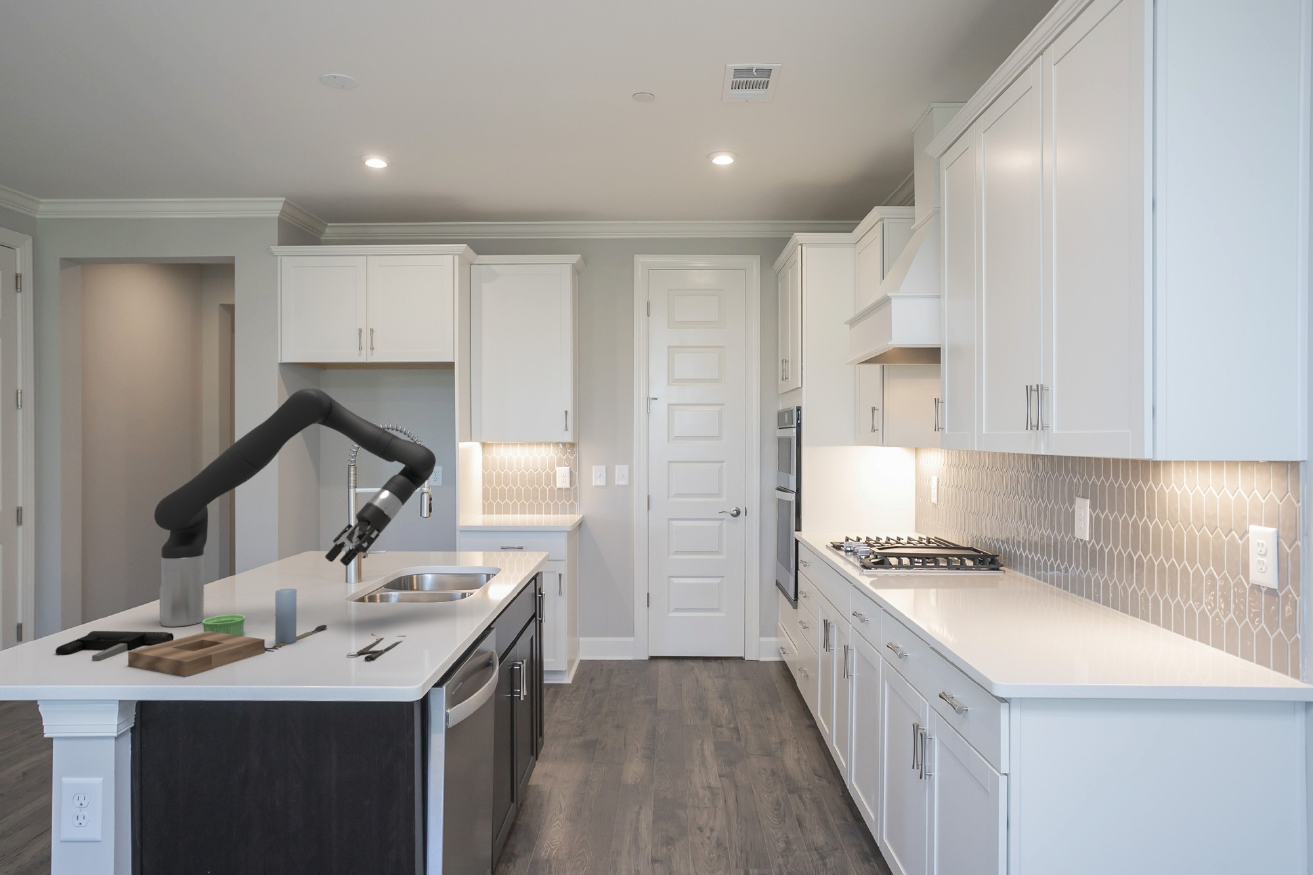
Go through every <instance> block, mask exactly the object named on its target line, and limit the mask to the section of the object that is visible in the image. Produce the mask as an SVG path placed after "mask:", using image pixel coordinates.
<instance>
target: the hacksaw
mask: <svg viewBox="0 0 1313 875" xmlns="http://www.w3.org/2000/svg"><path fill="white" fill-rule="evenodd" d="M371 636H374V637H376V635H375V634H374V633H371ZM377 637H378V638H376V639H375V641H373V642H372V643H371V644H369V645H367V646H365V647H364V648H361V649H360V650H358V651H357V652H356V654H353V653H355V652H354V651H353V652H352V654H351V652H349V653H347V654H346V656H348V657H356V656H361V655H366V654H367V655H366V656H365V657H364V661H365V662H373V661H375V660H376V659H378V658H380V656H382V655H384V654H385V653H386V652H388V651H389V650H390V649H392V648H394V647H396V646H397V645H399V644H400V643H402V642H403V640H400V641H396V642H394V643H392V644H390V645H389V646H387V647H385V648H384V649H380V650H379V649H377V650H371V649H372V648H374V647H375V646H377V645H379V643H381V642H382V641H383V640H384V639H385V638H384V637H379V636H377ZM396 637H397V638H398V637H401V638H402V637H404V638H406V635H398V636H396Z"/></svg>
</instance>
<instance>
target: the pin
mask: <svg viewBox="0 0 1313 875" xmlns="http://www.w3.org/2000/svg"><path fill="white" fill-rule="evenodd" d="M297 592H298V591H297V589H295V588H281V589H277V590H275V598H274V599H275V604H274V605H275V606H274V607H275V608H274V610H275V613H274V616H275V617H274V618H275V622H274V625H275V627H274V628H275V629H274V631H275V633H274V636H275V637H274V639H275V640H274V643H275V645H277V644H279V643H286V645H292V644H295V643H296V642H297V641H296V637H297V607H298V606H297V600H298V599H297V596H298V595H297ZM286 645H285V646H286Z"/></svg>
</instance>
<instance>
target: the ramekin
mask: <svg viewBox="0 0 1313 875" xmlns="http://www.w3.org/2000/svg"><path fill="white" fill-rule="evenodd" d="M245 620H246V616H245V615H243V614H222V615H221V614H220V615H215V616H212V617H208V618H204V620H203V621H202V622H201V623H202V626H203V633H204V632H208V631H211V632H218V633H225V634H232V635H238V636H244V628H245V627H244V626H245Z"/></svg>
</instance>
